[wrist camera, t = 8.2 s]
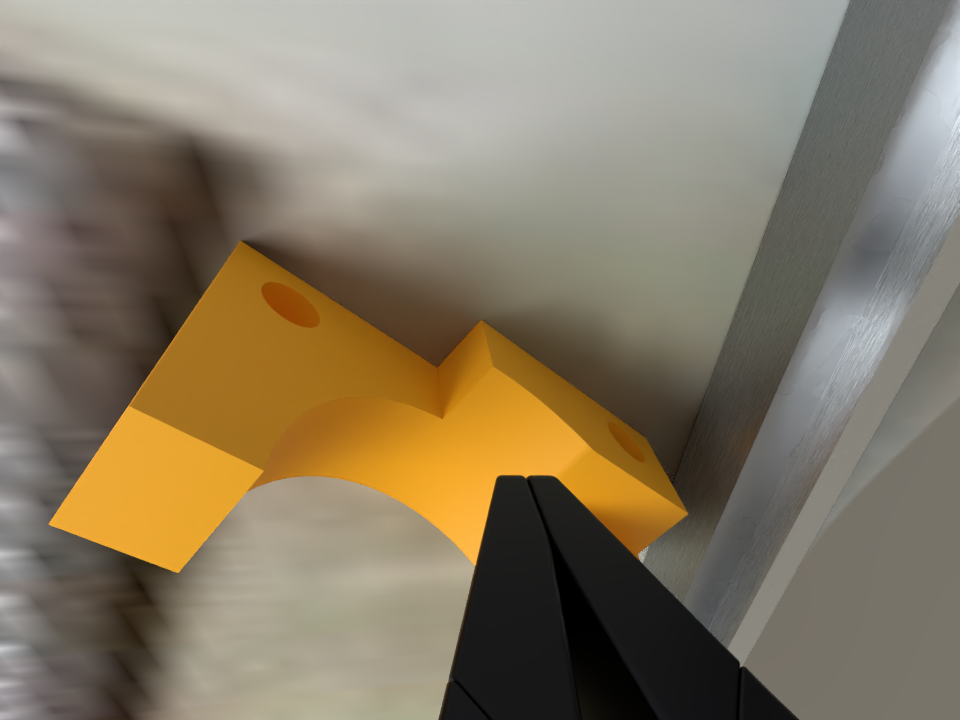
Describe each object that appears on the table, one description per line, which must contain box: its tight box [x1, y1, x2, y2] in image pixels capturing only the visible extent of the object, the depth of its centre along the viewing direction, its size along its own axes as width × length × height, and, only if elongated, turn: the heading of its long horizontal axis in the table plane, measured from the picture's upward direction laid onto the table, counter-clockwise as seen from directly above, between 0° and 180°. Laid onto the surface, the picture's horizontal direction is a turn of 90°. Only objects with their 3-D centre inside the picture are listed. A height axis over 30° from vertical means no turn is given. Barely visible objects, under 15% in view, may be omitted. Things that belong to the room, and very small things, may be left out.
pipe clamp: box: [48, 241, 688, 573], centre depth 13 cm, size 12×4×6 cm, turn 49°
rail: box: [643, 0, 960, 667], centre depth 14 cm, size 24×2×4 cm, turn 174°
